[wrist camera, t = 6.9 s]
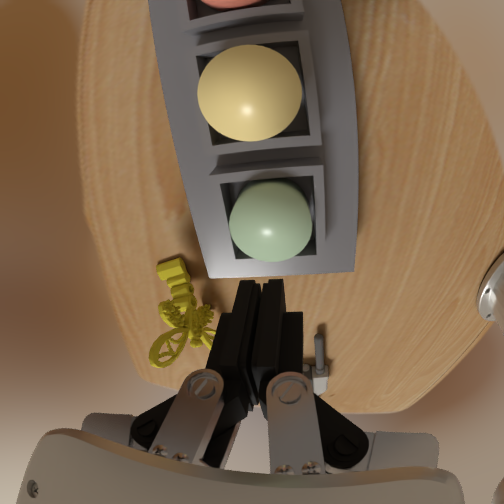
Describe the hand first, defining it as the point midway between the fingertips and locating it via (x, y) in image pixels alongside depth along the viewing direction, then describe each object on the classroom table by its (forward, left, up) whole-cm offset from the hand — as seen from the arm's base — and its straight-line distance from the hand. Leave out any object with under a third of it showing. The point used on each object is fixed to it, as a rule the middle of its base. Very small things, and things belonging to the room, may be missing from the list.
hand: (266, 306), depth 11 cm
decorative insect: (+10, +12, -13) cm, 20 cm away
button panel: (0, -8, -13) cm, 15 cm away
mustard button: (0, -8, -8) cm, 11 cm away
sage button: (0, 0, -9) cm, 9 cm away
